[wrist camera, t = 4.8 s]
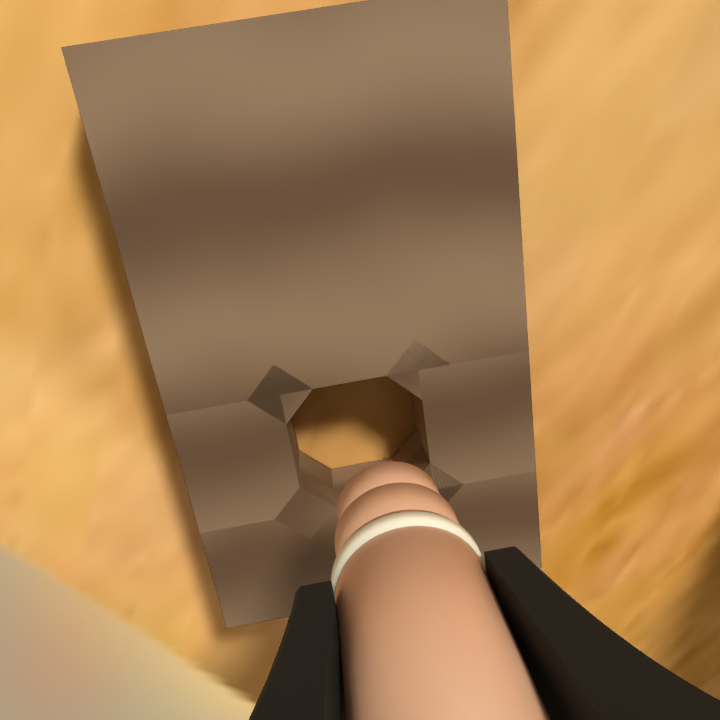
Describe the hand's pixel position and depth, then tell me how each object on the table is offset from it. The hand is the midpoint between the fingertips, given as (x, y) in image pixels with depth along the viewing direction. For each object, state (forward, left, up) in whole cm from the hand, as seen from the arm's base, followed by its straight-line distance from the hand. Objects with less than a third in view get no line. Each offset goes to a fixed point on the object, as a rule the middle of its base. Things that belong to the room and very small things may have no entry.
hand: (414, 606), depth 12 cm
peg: (0, 0, -3) cm, 3 cm away
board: (+3, 0, -10) cm, 11 cm away
